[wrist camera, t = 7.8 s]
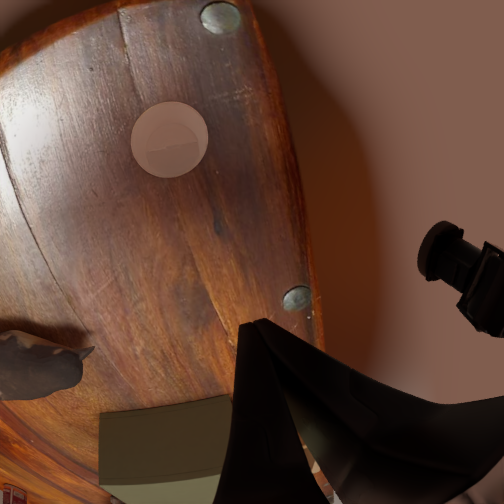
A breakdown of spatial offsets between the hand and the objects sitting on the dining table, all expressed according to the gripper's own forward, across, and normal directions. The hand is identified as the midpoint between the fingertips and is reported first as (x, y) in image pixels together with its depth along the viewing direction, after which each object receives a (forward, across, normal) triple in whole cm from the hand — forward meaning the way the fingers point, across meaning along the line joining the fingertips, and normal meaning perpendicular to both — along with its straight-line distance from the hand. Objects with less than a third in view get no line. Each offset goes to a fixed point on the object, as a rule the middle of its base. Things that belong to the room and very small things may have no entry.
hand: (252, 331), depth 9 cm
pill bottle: (+13, +59, +50) cm, 78 cm away
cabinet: (+12, +8, +26) cm, 30 cm away
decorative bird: (+13, +23, +8) cm, 27 cm away
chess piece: (+13, +1, -5) cm, 14 cm away
